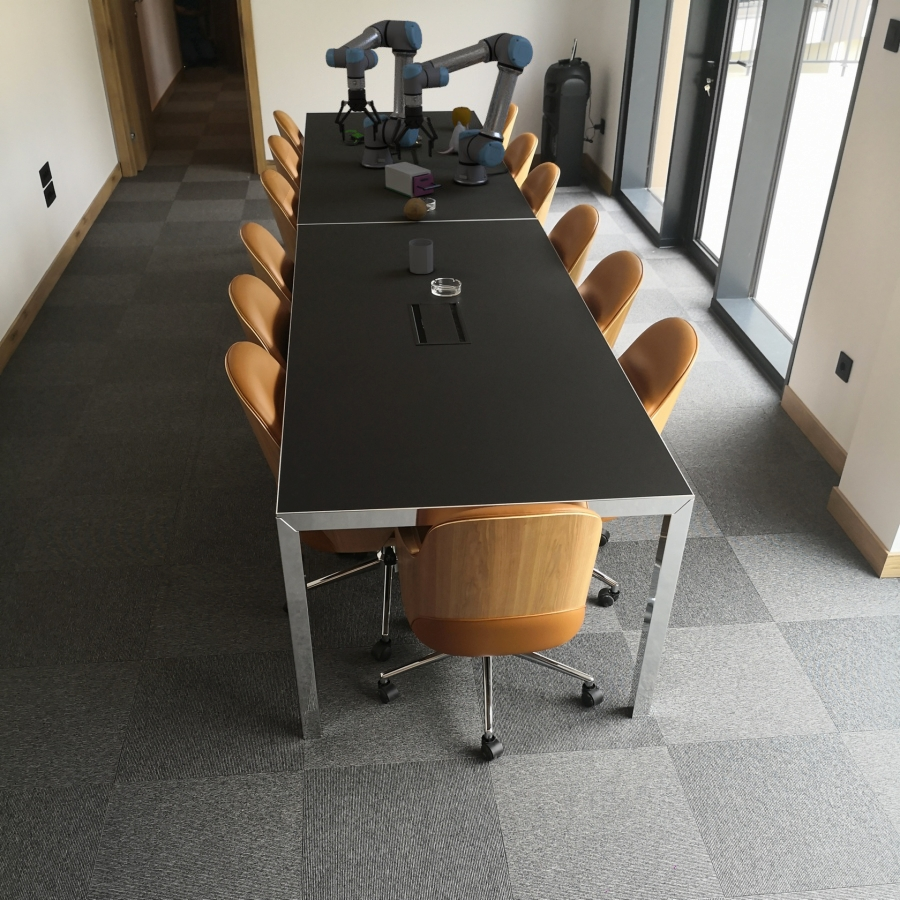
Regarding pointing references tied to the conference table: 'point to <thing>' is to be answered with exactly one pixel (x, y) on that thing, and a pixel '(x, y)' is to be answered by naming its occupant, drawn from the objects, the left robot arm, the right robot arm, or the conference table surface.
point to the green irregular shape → (355, 137)
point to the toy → (455, 139)
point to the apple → (461, 116)
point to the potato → (415, 209)
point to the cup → (421, 256)
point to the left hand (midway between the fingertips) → (359, 140)
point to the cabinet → (402, 177)
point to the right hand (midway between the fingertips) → (414, 157)
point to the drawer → (423, 184)
